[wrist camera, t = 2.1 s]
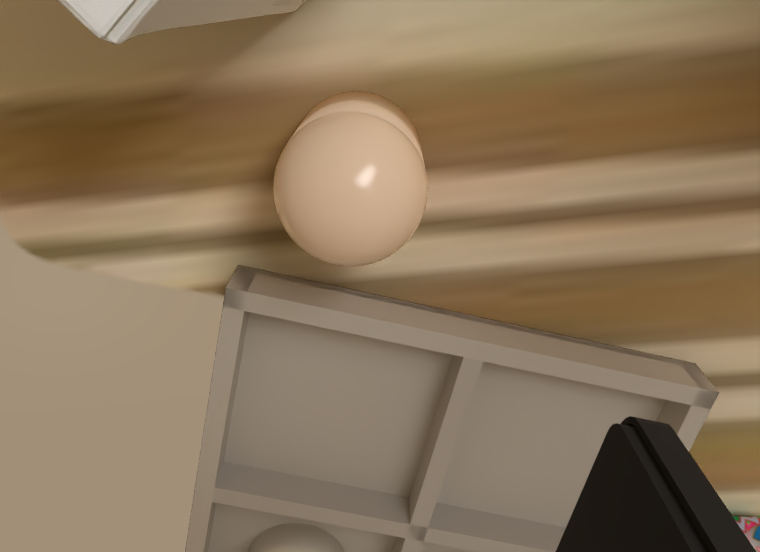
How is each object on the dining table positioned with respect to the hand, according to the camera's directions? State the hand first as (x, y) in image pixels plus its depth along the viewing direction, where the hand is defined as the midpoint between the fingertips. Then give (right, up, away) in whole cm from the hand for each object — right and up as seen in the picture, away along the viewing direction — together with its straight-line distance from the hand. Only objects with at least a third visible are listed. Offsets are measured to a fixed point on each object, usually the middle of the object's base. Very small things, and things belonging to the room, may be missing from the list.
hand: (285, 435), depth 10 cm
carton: (+3, -8, +22) cm, 23 cm away
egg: (0, +7, +15) cm, 17 cm away
